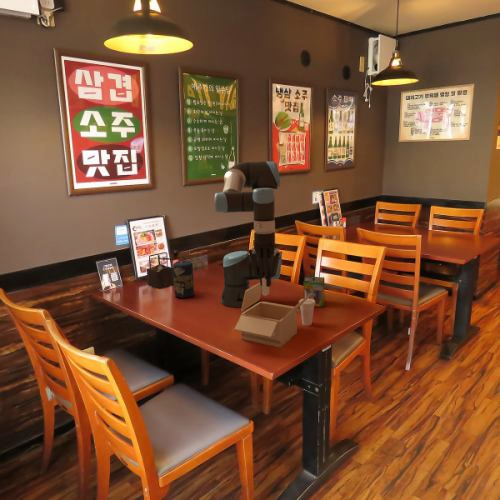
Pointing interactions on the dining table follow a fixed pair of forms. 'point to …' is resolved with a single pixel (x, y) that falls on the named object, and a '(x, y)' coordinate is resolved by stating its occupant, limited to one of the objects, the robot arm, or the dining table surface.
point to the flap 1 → (251, 296)
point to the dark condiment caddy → (161, 273)
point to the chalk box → (315, 289)
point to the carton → (274, 313)
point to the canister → (183, 278)
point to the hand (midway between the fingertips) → (265, 294)
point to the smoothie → (307, 311)
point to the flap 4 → (298, 305)
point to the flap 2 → (256, 326)
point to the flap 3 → (282, 305)
